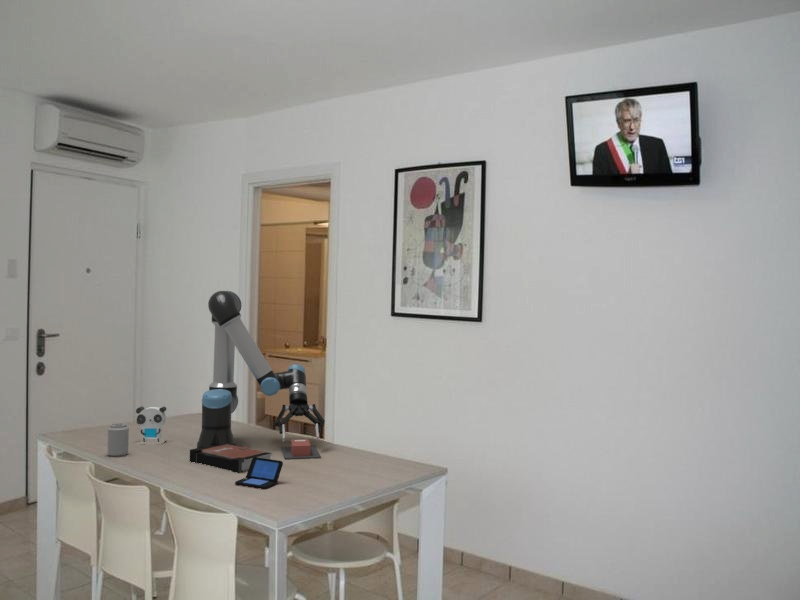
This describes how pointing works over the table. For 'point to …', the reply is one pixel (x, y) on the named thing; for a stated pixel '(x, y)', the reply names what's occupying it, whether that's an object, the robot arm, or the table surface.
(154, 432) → the panda figurine
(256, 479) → the handheld game console
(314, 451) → the mat
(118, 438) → the can
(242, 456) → the book
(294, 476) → the table surface
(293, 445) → the box
